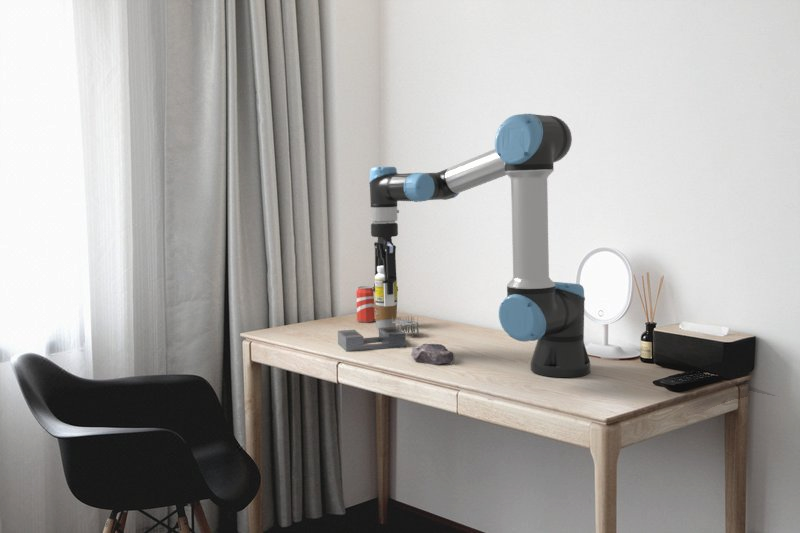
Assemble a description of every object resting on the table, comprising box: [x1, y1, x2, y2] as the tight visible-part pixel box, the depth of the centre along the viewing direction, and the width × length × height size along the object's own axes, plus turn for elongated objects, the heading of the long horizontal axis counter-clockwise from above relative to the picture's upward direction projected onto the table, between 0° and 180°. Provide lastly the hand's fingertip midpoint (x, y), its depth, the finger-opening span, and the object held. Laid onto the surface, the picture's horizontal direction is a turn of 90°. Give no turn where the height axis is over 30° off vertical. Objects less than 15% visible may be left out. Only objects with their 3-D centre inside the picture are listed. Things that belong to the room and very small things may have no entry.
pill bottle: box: [374, 265, 398, 306], centre depth 234 cm, size 6×6×11 cm
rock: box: [411, 343, 455, 366], centre depth 227 cm, size 8×11×5 cm
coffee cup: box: [372, 283, 399, 331], centre depth 272 cm, size 8×8×15 cm
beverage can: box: [355, 285, 376, 324], centre depth 286 cm, size 6×6×12 cm
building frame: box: [392, 316, 420, 338], centre depth 262 cm, size 6×8×6 cm
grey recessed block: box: [337, 326, 407, 352], centre depth 248 cm, size 11×18×4 cm, turn 107°
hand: (386, 303), depth 234 cm, fingers closed on pill bottle, 6 cm apart
